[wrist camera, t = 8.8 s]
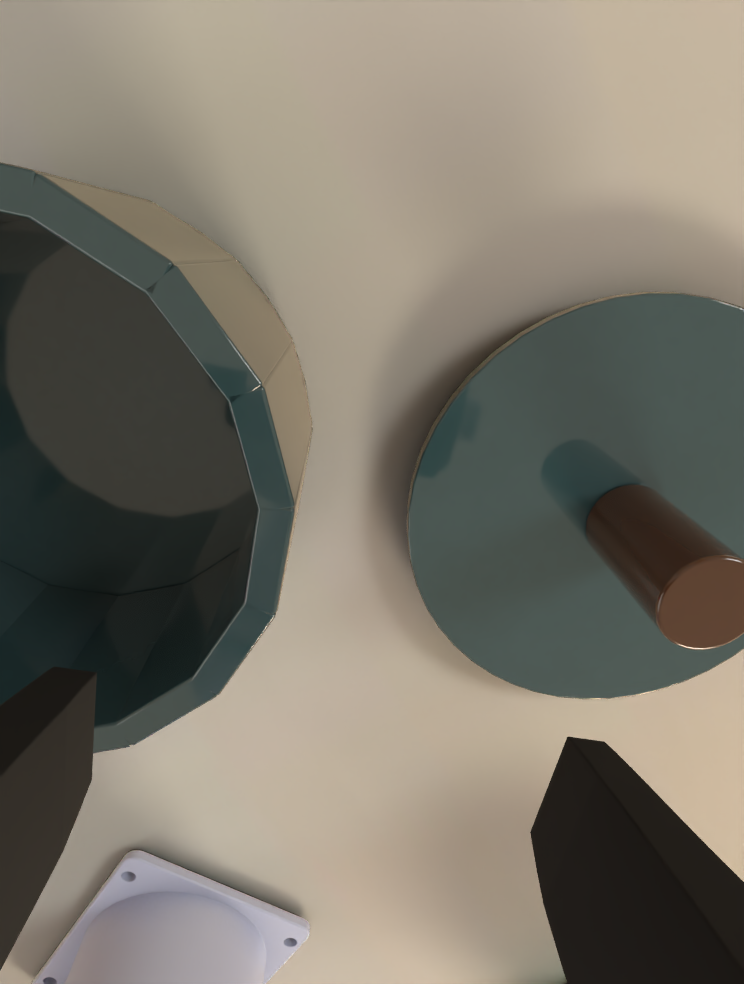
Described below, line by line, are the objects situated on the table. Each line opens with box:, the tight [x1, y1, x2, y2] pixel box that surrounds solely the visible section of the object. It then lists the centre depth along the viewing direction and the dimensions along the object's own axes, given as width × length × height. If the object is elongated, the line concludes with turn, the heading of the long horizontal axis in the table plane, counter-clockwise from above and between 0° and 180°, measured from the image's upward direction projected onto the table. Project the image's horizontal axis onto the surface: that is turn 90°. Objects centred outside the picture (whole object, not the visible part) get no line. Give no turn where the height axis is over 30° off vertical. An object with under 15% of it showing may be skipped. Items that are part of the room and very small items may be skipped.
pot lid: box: [406, 292, 744, 699], centre depth 16 cm, size 13×13×6 cm
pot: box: [0, 162, 313, 753], centre depth 14 cm, size 12×12×6 cm
